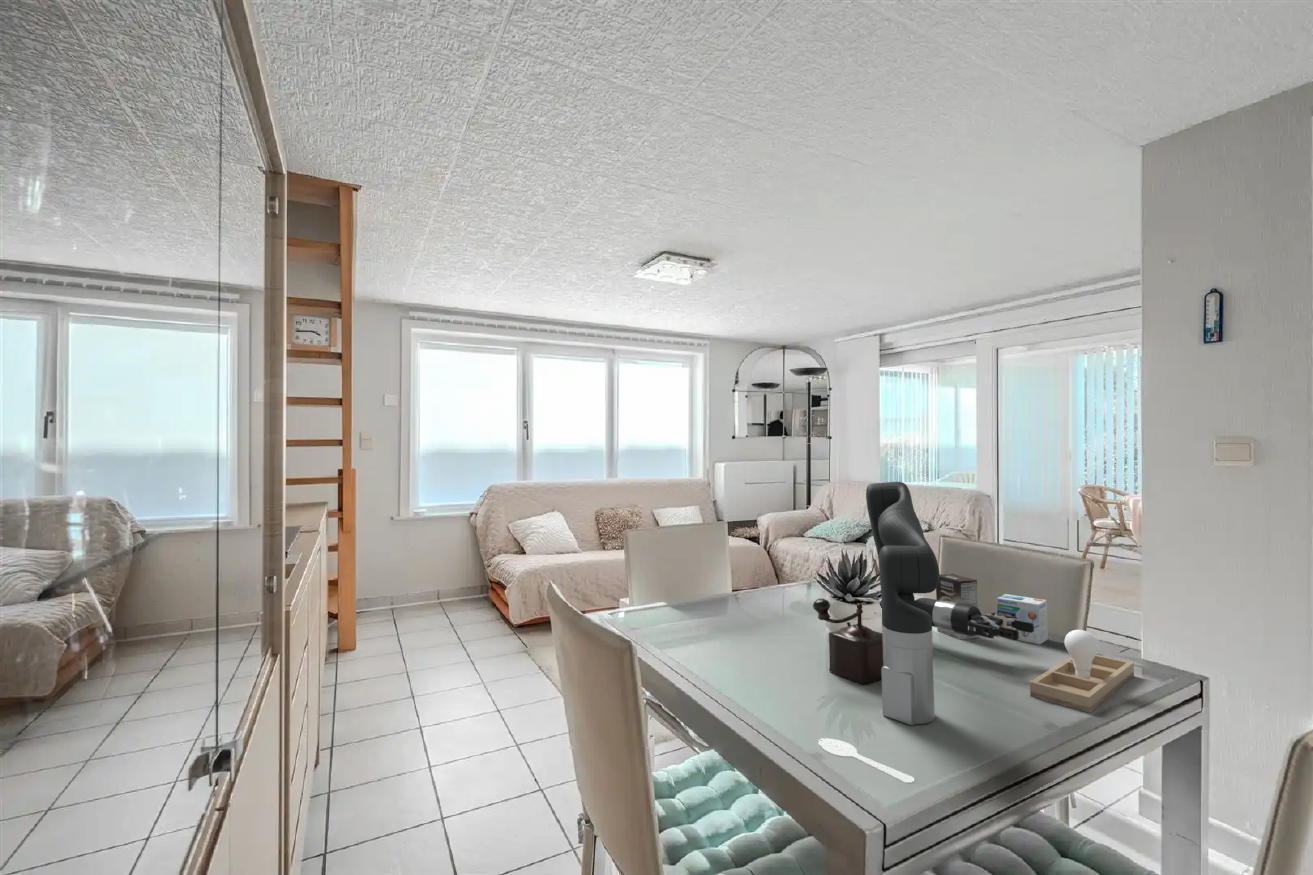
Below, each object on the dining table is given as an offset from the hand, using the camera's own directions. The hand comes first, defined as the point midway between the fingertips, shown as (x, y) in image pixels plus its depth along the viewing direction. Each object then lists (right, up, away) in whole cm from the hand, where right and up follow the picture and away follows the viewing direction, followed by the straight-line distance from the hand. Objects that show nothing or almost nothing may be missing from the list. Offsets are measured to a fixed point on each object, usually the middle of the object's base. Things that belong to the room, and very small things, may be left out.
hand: (1026, 631), depth 139 cm
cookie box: (-2, -10, +28) cm, 30 cm away
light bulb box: (+14, -10, +24) cm, 30 cm away
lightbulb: (+7, -8, -9) cm, 14 cm away
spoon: (-51, -10, -38) cm, 65 cm away
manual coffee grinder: (-41, -10, -1) cm, 42 cm away
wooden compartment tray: (+7, -9, -9) cm, 14 cm away
